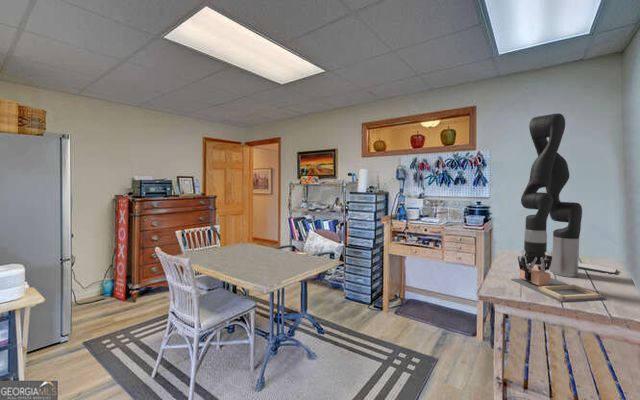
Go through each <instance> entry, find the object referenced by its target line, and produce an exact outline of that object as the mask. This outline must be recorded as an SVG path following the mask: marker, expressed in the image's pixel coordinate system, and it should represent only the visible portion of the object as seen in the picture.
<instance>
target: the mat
mask: <svg viewBox="0 0 640 400" xmlns="http://www.w3.org/2000/svg"><path fill="white" fill-rule="evenodd" d="M510 280H511V281H513V282H515V283H518V284H519V285H521V286H524V287H526V288H529V289H531V290H533V291H535V292H538V293H540V294H542V295H544V296H546V297H549V298H551V299H553V300H556V301H558V302H560V303H568V302H570V303H571V302H587V301H604V300H605V299H608V298H606V297H603V296H602V294H600V293H598V292H595V291H593V290H590V289H587V288H584V287H581V286H579V285H576V284H568V283H566V282H563V281H561V280H558V279H555V278H552V277H550V285H540V286H539V285H536V284H534V283H532V282H529V281H527V280H524V279H522V278H520V277H519V278H511V279H510ZM605 301H606V300H605Z"/></svg>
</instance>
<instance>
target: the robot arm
mask: <svg viewBox="0 0 640 400" xmlns="http://www.w3.org/2000/svg"><path fill="white" fill-rule="evenodd" d="M528 127H529V134H530V137H531V140H532V143H533V146H534V148H535V151H536V153H537V157H536V159H535V160H534V161H533V163H532V165H531V169H530V173H529V174H530V175H529V179H528V183H527V185H526V187H525V189H524V190H523V193H522V195H521V196H520V197H521V198H520V203H521V205H522V207H523V208H525V209H526V210H528V209H529V210H537V212H536V213H535V214H528V215H527V216H526V217H525V230H524V239H523V240H524V242H523V243H524V245H523V250H524V255H522V256H520V255H518V256H517V262H518V266H519V270H520V269H521V270H523V271H525V279H526V280H527V281H531V273H530V272H531V270H532V268H535V266H537V267H536V268H537V269H538V270H541V271H544V272H546V271H550V272H551V273H552V274H554V275H557V276H561V277H568V278H569V277H570V278H576V277H578V276H579V269H578V263H579V261H580V259H579V256H580V254H579V253H580V236H581V235H580V234H581V228H582V217H583V208H582V205H581V204H580V203H579V202H573V201H572V202H571V201H568V202H567V201H561V199H560V193H561V192H562V190H563V188H564V187H565V186H566V184H567V183H568V181H569V179H570V170H569V166H568V163H567V161H566V159H565V158H564V156H562V155H561V154H560V153H559V152H558V151H559V148H560V145H561V142H562V139H563V136H564V133H565V130H566V118H565V116H564V115H563V113H558V112H557V113H552V114H546V115H539V116H535V117H533V118H531V119H530V122H529V126H528ZM542 188H543V189H544V188H545V192H539V190H540V189H542ZM548 217H550V219H551V221H554V222H559V223H568V224H567V226H565V227H563V228H558V229H554V230H553V231H552V232H553V234H552V236H553V237H552V251H550V255H548V254H546V253H547V250H548V249H547V245H548V240H547V239H548V235H547V222H548ZM528 267H529V268H528Z"/></svg>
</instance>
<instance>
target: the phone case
mask: <svg viewBox="0 0 640 400" xmlns="http://www.w3.org/2000/svg"><path fill="white" fill-rule="evenodd" d="M578 270H583V271H590V272H595V273H601V274H606V273H608V274H607V275H612V274H616V275H617V274H618V273H619V272H618V269H616V268H612V267H606V266H600V265H593V264H587V263H582V262H578Z"/></svg>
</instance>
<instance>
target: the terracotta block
mask: <svg viewBox="0 0 640 400" xmlns="http://www.w3.org/2000/svg"><path fill="white" fill-rule="evenodd" d="M528 268H529V267H528ZM530 273H531V281H529V282H532V283H534V284H536V285H539V286H540V285H550V278H551V273H549V272H546V271H545V272H544V271H541V270H538V268H535V267H533V268H532V270H531V272H530ZM520 278H522V279H524V280H526V279H525V271H523V270H521V269H520V268H519V279H520Z"/></svg>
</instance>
